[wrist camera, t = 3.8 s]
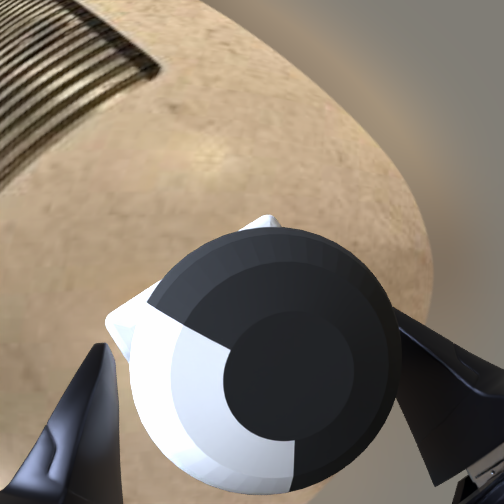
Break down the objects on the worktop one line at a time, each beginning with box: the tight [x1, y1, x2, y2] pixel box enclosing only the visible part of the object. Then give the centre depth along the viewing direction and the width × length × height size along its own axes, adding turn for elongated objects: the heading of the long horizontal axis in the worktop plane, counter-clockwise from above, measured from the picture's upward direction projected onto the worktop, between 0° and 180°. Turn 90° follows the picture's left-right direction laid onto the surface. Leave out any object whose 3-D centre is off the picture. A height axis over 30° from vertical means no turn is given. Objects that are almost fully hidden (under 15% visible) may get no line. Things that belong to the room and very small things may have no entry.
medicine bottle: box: [105, 215, 402, 495], centre depth 11 cm, size 7×7×12 cm
